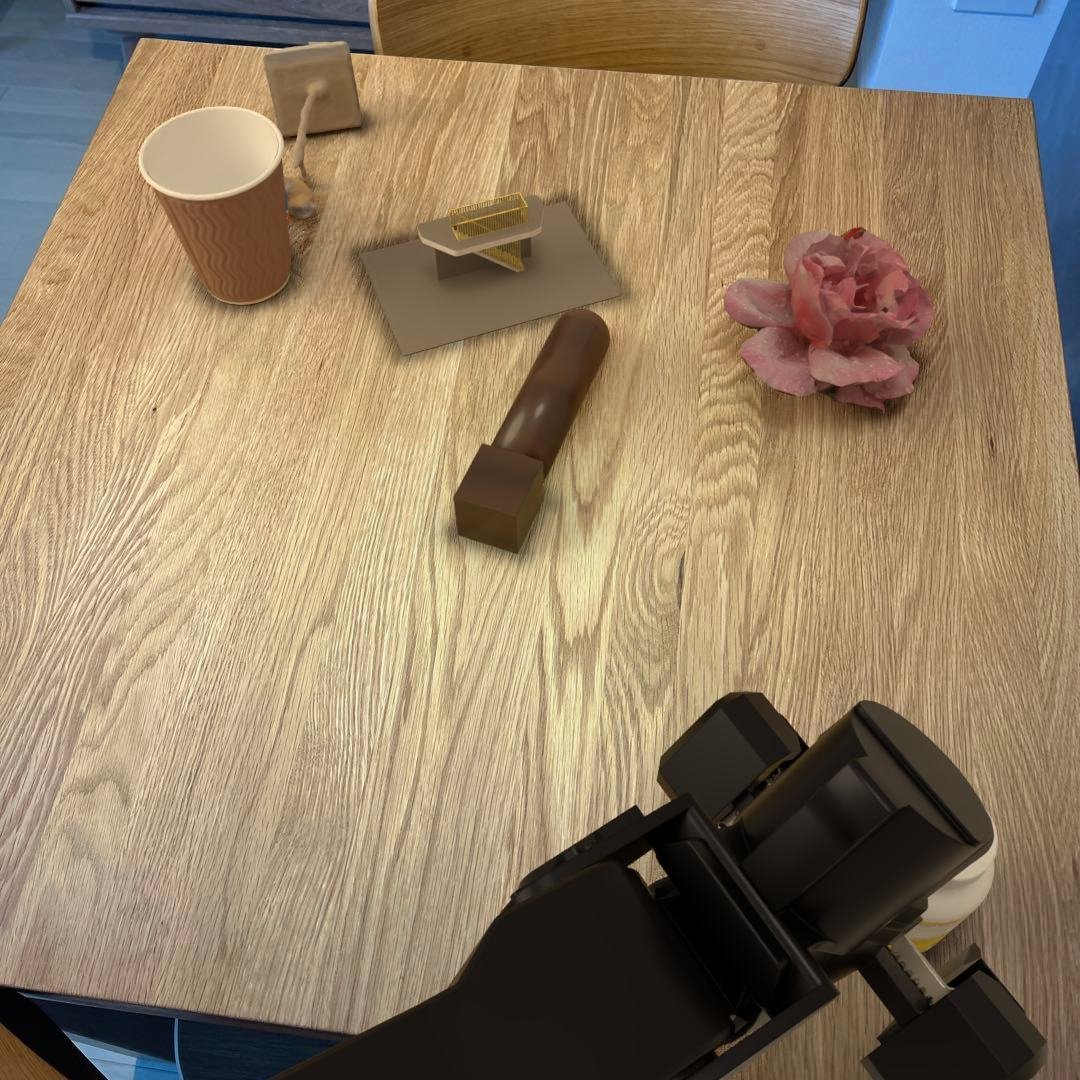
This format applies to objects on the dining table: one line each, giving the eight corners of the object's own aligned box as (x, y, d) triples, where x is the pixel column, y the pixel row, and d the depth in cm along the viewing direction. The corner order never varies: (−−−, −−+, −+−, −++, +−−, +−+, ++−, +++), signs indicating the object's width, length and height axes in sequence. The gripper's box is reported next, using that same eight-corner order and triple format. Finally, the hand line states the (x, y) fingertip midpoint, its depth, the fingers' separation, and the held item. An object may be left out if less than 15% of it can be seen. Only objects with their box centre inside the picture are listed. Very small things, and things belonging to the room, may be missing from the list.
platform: (621, 295, 90) (625, 230, 84) (402, 355, 86) (392, 292, 81) (565, 201, 96) (566, 134, 91) (359, 254, 93) (348, 188, 87)
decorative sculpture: (318, 234, 94) (302, 160, 88) (206, 220, 95) (183, 146, 89) (369, 114, 103) (358, 39, 97) (266, 102, 104) (248, 28, 98)
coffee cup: (338, 263, 92) (313, 136, 82) (252, 340, 87) (214, 216, 77) (243, 215, 95) (208, 88, 85) (155, 287, 91) (107, 162, 81)
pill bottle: (855, 824, 66) (907, 742, 56) (963, 881, 64) (1036, 806, 54) (809, 922, 63) (857, 853, 53) (922, 985, 61) (992, 926, 51)
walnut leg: (517, 554, 76) (516, 516, 73) (457, 534, 77) (453, 496, 74) (616, 347, 87) (619, 305, 83) (562, 332, 88) (563, 289, 84)
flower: (753, 434, 78) (813, 316, 71) (693, 306, 88) (741, 191, 81) (935, 447, 83) (1008, 337, 76) (859, 324, 92) (918, 217, 86)
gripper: (1115, 1044, 35) (1193, 940, 47) (742, 603, 44) (889, 613, 56) (862, 1217, 39) (994, 1081, 52) (568, 784, 48) (740, 756, 61)
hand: (902, 868), depth 55 cm, fingers open, 9 cm apart
